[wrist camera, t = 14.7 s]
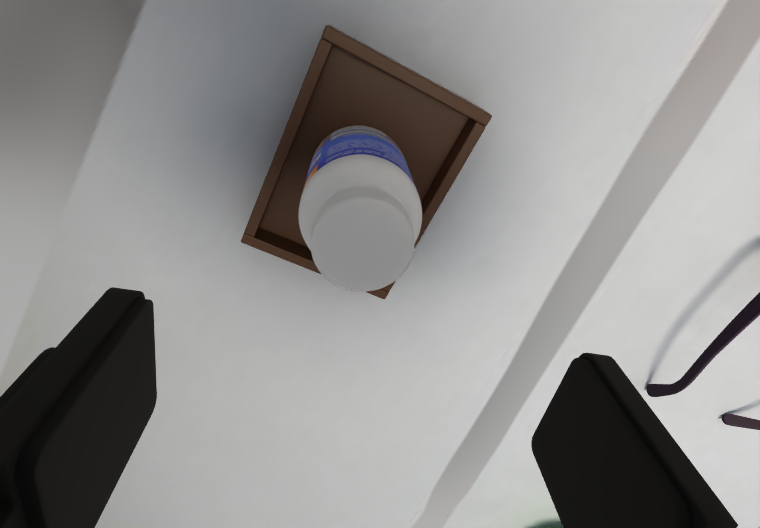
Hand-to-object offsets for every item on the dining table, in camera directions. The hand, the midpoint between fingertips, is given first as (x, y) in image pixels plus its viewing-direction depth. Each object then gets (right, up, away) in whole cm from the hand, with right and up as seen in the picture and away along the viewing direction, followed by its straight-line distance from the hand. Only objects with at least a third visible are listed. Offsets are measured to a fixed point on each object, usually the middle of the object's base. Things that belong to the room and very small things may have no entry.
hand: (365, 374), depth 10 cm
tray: (-1, +8, +16) cm, 18 cm away
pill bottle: (-1, +8, +16) cm, 18 cm away
